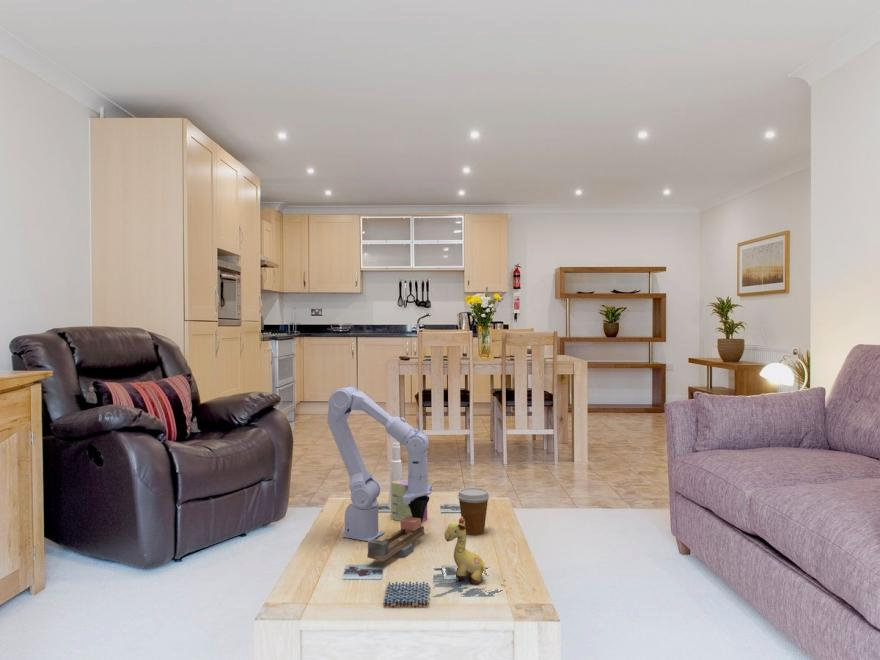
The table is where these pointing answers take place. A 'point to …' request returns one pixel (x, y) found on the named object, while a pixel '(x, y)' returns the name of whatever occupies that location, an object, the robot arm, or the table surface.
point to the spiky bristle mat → (407, 595)
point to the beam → (394, 545)
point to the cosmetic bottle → (395, 467)
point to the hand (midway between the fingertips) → (417, 522)
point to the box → (401, 501)
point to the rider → (410, 524)
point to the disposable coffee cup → (473, 509)
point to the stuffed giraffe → (462, 564)
